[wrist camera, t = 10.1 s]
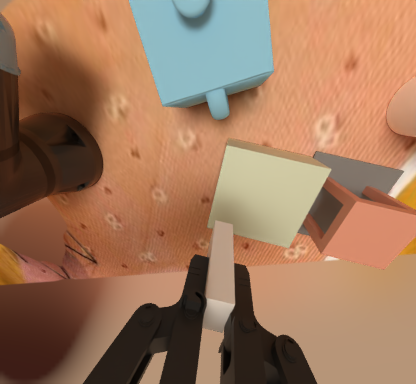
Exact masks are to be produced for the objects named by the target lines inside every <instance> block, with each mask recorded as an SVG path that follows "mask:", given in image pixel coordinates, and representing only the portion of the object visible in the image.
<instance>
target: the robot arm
mask: <svg viewBox="0 0 416 384" xmlns="http://www.w3.org/2000/svg"><path fill="white" fill-rule="evenodd" d="M20 74H21V70H20V69H19V67H18V65H17V53H16V41H15V35H14V32H13V29H12V27H11V26H10V24H9V22H8V21H7V20H6V18H5V17H4V16H3V15H2V14H1V13H0V218H2V217H4V216H6V215H8V214H10V213H12V212H15V211H17V210H19V209H21V208H23V207H25V206H27V205H29V204H31V203H34V202H36V201H38V200H40V199H42V198H44V197H47V196H49V195H54V194H62V193H69V192H76V191H81V190H84V189H86V188H88V187H90V186H92V185H93V184H95V183H96V182H97V181H98V179H99V178H100V176H101V173H102V168H103V162H102V156H101V152H100V150H99V147H98V145H97V143H96V141H95V140H94V138H93V137H92V135H91V134H90V133H89V132H88V131H87V130H86V128H84V127H83V126H82V125H81V124H80V123H79V122H77V121H76V120H74V119H72V118H71V117H69V116H66V115H63V114H59V113H38V114H34V115H31V116H29V117H26V118H24V119H22V120H19V95H18V76H20ZM250 287H251V286H250V277H249V272H248V270H247V268H246V266H245V265H240V264H236V263H234V245H233V224H229V223H225V222H221V221H217V220H215V224H214V227H213V231H212V235H211V238H210V242H209V247H208V253H207V257H205V256H200V255H196V254H195V256H194V257H193V258H192V259H191V262H190V266H189V270H188V274H187V278H186V282H185V285H184V290H183V293H182V296H181V298H180V300H179V301H178V302H177V303H176V304H174V305H172V306H169V307H162V308H159V307H158V306H156V304H152V303H147V304H144V305H142V306H140V307H139V308H138V309H137V310H136V311H135V312H134V314H133V315H132V317H131V318H130V319H129V321H128V322H127V323H126V325H125V326H124V328H123V329H122V330H121V332H120V333H119V335H118V336H117V337H116V339H115V340H114V342H113V343H112V344H111V345H110V347H109V348H108V350H107V351H106V352H105V354H104V355H103V357H102V358H101V359H100V361H99V362H98V364H97V365H96V366H95V368H94V369H93V370H92V372H91V373H90V374H89V376H88V377H87V379H86V380H85V381H84V383H83V384H139V383H140V380H141V379H142V377H143V374H144V373H145V370H146V369H147V367H148V365H149V363H150V361H151V359H152V357H153V355H154V354H155V353H160V352H165V351H167V355H166V359H165V363H164V367H163V371H162V375H161V379H160V383H159V384H195V382H196V374H197V367H198V359H199V350H200V342H201V334H202V328H205V329H209V330H213V331H217V332H221V333H222V332H223V330H224V339H223V341H222V343H221V345H220V347H219V353H221V376H220V384H317V382H316V380H315V378H314V375H313V373H312V371H311V369H310V367H309V365H308V363H307V360H306V358H305V356H304V354H303V352H302V350H301V348H300V347H299V345H298V344H297V343H296V341H295V340H294V339H292V338H291V337H289V336H287V335H280V336H278V337H276V336H275V335H273V334H272V333H270V332H268V331H267V330H266V329H264V328H263V327H262V326H261V325H260V324H259V323H258V322H257V320H256V318H255V316H254V311H253V302H252V294H251V288H250Z"/></svg>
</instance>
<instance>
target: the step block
mask: <svg viewBox="0 0 416 384" xmlns="http://www.w3.org/2000/svg"><path fill="white" fill-rule="evenodd" d="M331 170H332V169H330V168H329V167H327V166H325V165H324V164H322V163H321V162H319V161H317V160H316V159H314V158H312V157H311V156H307V155H302V154H298V153H294V152H289V151H285V150H281V149H276V148H272V147H267V146H263V145H259V144H254V143H250V142H245V141H241V140H237V139H232V138H228V142H227V146H226V150H225V154H224V159H223V163H222V167H221V171H220V175H219V179H218V183H217V187H216V192H215V196H214V200H213V204H212V208H211V212H210V216H209V220H208V225H207V228H211V229H213V227H214V224H215V220H217V221H221V222H225V223H229V224H233V234H235V235H239V236H242V237H246V238H250V239H254V240H258V241H262V242H266V243H270V244H274V245H278V246H282V247H286V248H289V247H290V245H291V243H292V241H293V239H294V238H295V236H296V234H297V232H298V230H299V228H300V227H301V225H302V223H303V221H304V219H305V217H306V216H307V214H308V212H309V210H310V208H311V206H312V205H313V203H314V201H315V199H316V197H317V195H318V194H319V192H320V190H321V188H322V186H323V184H324V183H325V181H326V179H327V177H328V175H329V173H330V172H331Z"/></svg>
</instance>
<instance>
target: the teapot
mask: <svg viewBox="0 0 416 384" xmlns="http://www.w3.org/2000/svg"><path fill="white" fill-rule="evenodd" d="M129 3H130V6H131V9H132V13H133V16H134V19H135V22H136V25H137V28H138V31H139V35H140V38H141V41H142V44H143V47H144V50H145V53H146V56H147V59H148V62H149V66H150V69H151V72H152V75H153V78H154V81H155V84H156V87H157V90H158V93H159V96H160V99H161V103H162V106H164V107H181V108H188V107H191V106H194V105H198V104H201V103H204V102H208V106H209V109H210V112H211V115H212V117H213V118H214V119H216V120H221V119H224V118H226V117H228V116H229V114H230V112H229V104H228V97H227V96H228V95H231V94H235V93H238V92H241V91H245V90H248V89H251V88H255V87H258V86H260V85H261V84H262V83H263V82H264V81H265V80H266V79H267V78H268V77H269V76H270V75H271V74H272V73H273V72H274V67H273V55H272V44H271V32H270V20H269V9H268V0H129Z"/></svg>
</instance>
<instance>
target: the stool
mask: <svg viewBox="0 0 416 384" xmlns="http://www.w3.org/2000/svg"><path fill="white" fill-rule="evenodd" d="M322 187H324V188H325V189H326V190H327V191H328V192H329V193H331V194H332V195H333V196H334V197H335V198H336V199H337V200H339V201H340V202H341V203H342V204H343V207H342V208H341V210H340V211H339V213H338V214H337V216H336V218H335V219H334V221H333V222H332V224H331V225H330V227H329V229H328V230H327V232H326V233H325V234H324V232H323V231H322V230H321V228H320V227H319V225H318V224H317V223H316V221H315V220H314V219H313V217H312V216H311V214H309V213H308V214H307V216H306V217H305V219H304V221H303V224H304V226H305V228H306V229H307V231H308V233H309V234H310V236H311V238H312V239H313V241H314V243H315V244H316V246H317V248H318V249H319V251H320V253H321V254H323V255H327V256H331V257H335V258H339V259H343V260H347V261H351V262H355V263H359V264H363V265H367V266H371V267H375V268H379V269H383V270H384V269H385V268H386V267H387V266H388V265H389V264H390V263H391V262H392V261H393V260H394V259H395V258H396V257H397V255H398V254H399V253H400V252H401V251H402V250H403V249H404V248H405V247H406V246H407V245H408V244H409V243H410V242H411V241H412V240H413V239H414V238H415V237H416V210H415V209H413V208H411V207H409V206H407V205H406V204H404V203H402V202H400V201H398V200H396V199H395V198H393V197H391V196H389V195H387V194H386V193H384V192H382V191H380V190H378V189H376V188H374V187H370V186H366V187H365V189H364V190H363V192H362V193H363V194H364V195H366V196H367V197H369V198H370V199H372V200H373V201H375V202H373V201H369V200H365V199H361V198H359V197H358V196H356V195H355V194H353V193H352V192H350V191H349V190H348V189H346V188H345V187H343V186H342V185H340V184H339V183H338V182H336V181H335V180H333V179H332V178H330V177H327V179H326V181H325V183H324V184H323V186H322Z"/></svg>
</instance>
